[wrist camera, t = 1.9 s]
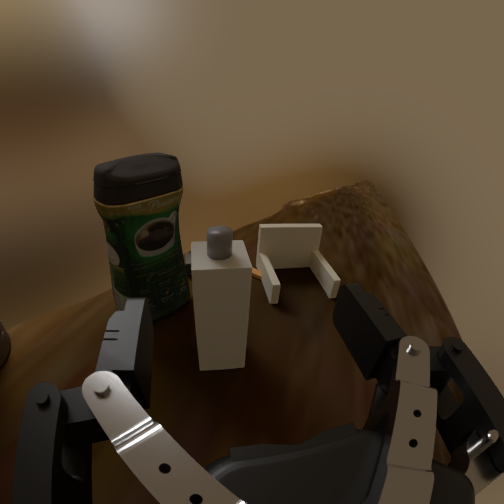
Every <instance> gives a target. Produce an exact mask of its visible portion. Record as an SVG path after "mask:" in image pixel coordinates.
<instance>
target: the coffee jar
mask: <svg viewBox="0 0 504 504" xmlns="http://www.w3.org/2000/svg"><path fill="white" fill-rule="evenodd" d="M93 180H94V203H95V206H96V209H97V211H98V213H99V214H100V216H101V218H102V220H103V223H104V228H105V234H106V240H107V247H108V256H109V265H110V273H111V282H112V289H113V295H114V299H115V303H116V306H117V308H118V310H119V311H124V310H125V306H126V302H127V299H128V298H144V297H146V298H147V300H148V305H149V310H150V314H151V319H152V322H153V321H155V320H158V319H160V318H162V317H165V316H166V315H168V314H170V313H172V312H174V311H176V310H177V309H179V308H180V307H182V306H183V305H184V304H186V302H187V301H188V299H189V297H190V291H189V283H188V278H187V273H186V268H185V263H184V258H183V253H182V247H181V240H180V233H179V219H178V213H179V204H180V200H181V197H182V193H183V186H182V185H183V184H182V177H181V169H180V165H179V162H178V159H177V158H176V157H175V156H173V155H168V154H163V153H150V154H141V155H135V156H130V157H125V158H121V159H117V160H113V161H109V162H106V163H102V164H99V165H97V166H96V167H95V169H94V179H93Z"/></svg>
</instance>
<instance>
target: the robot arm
mask: <svg viewBox="0 0 504 504" xmlns="http://www.w3.org/2000/svg"><path fill="white" fill-rule="evenodd" d="M389 314H390V313H389V312H388V311H387V310H386V309H385V307H384V306H383V305H382V304H381V302H380V301H379V300H378V299H377V298H375V297H374V296H372V295H371V294H369V293H368V294H367V292H366V291H365V290H364V289H363V287H362V286H361V285H360V284H358V283H357V284H348V285H342V286H341V287H340V290H339V294H338V297H337V301H336V304H335V308H334V311H333V322H334V325H335V327H336V329H337V330H338V332H339V334H340V336H341V337H342V339H343V341H344V343H345V344H346V346H347V348H348V350H349V351H350V353H351V355H352V357H353V358H354V360H355V362H356V364H357V365H358V367H359V369H360V371H361V372H362V374H363V376H364V378H365V380H370V379H373V378H376V379H377V380H378V382H377V383H376V385H375V389H374V394H373V398H372V403H371V407H370V411H369V415H368V419H367V421H366V424H365V426H364V427H363V429H362V430H358V429H356V428H355V426H354V424H353V423H350V424H347V425H343V426H340V427H336V428H333V429H329V430H326V431H324V432H322V433H320V434H318V435H316V436H314V437H312V438H310V439H308V440H306V441H304V442H302V443H300V444H297V445H278V444H257V445H250V446H242V447H233V448H229V455H228V456H225V457H222V458H220V459H218V460H216V461H214V462H212V463H211V464H209V465H208V466H206V467H205V468H202V467H201V466H200V465H199V464H198V463H197V462H196V461H195V460H194V459H193V458H192V457H191V456H190V455H189V454H188V453H187V452H186V451H185V450H184V449H183V448H182V447H181V446H180V445H179V444H178V443H177V442H176V441H175V440H174V439H173V438H172V437H171V436H170V435H169V434H168V433H167V432H166V431H165V430H164V428H163V427H162V426H161V425H160V424H159V423H158V422H156V421H153V420H152V419H151V418H150V417H149V416H148V414H147V413H146V412H145V411H144V410H143V409H150V393H151V375H152V361H153V348H154V329H153V324H152V319H151V314H150V310H149V305H148V300H147V298H146V297H144V298H128V299H127V302H126V306H125V310H124V311H116V312H115V313H114V314H113V315H112V317H111V318H110V319H109V320H108V324H107V327H106V332H105V335H104V340H103V342H102V346H101V350H100V354H99V358H98V362H97V366H96V371H95V373H93V374H91V375H90V376H89V377H87V378H86V380H85V381H84V383H83V385H82V386H80V387H77V388H72V389H67V390H63V391H59V390H58V388H57V387H56V386H55V385H53V384H51V383H47V382H44V383H39V384H37V385H35V386H34V387H33V388H32V389H31V390H30V391H29V393H28V396H27V399H26V403H25V408H24V412H23V417H22V421H21V426H20V432H19V438H18V444H17V450H16V458H15V467H14V478H13V496H12V504H93V503H92V443H96V442H101V441H105V440H111V441H112V443H113V445H114V447H115V449H116V450H117V452H118V453H119V455H120V456H121V457H122V459H123V460H124V461H125V463H126V464H127V465H128V467H129V468H130V469H131V470H132V472H133V473H134V474H135V475H136V476H137V478H138V479H139V480H140V481H141V482H142V484H143V485H144V486H145V487H146V488H147V489H148V490H149V492H150V493H151V494H152V495H153V496H154V497H155V498H156V499H157V500H158V501H159V502H160V503H161V504H475V495H476V494H478V493H479V492H480V491H481V490H482V489H484V488H485V487H486V486H487V485H489V484H490V483H491V482H492V481H493V480H495V479H497V478H498V477H500V476H501V475H503V474H504V398H503V396H502V394H501V393H500V392H499V390H498V388H497V387H496V386H495V384H494V383H493V381H492V380H491V378H490V377H489V375H488V374H487V373H486V371H485V370H484V368H483V367H482V366H481V364H480V363H479V361H478V360H477V359H476V357H475V356H474V355H473V354H472V352H471V351H470V349H469V348H468V347H467V345H466V344H465V343H464V342H463V341H461V340H460V339H458V338H455V337H448V338H446V339H445V340H444V342H443V344H442V345H441V347H428V346H427V344H426V343H425V342H424V341H423V340H421V339H420V338H417V337H414V336H407V335H406V334H405V333H404V331H403V330H402V329H401V327H400V326H399V325H398V324H397V322H396V321H395V320H394V319H393V317H392V316H391V315H389ZM9 350H10V338H9V335H8V333H7V331H6V330H5V328H4V326H3V324H2V322H1V320H0V367H1V366H2V364H3V363H4V362H5V360H6V358H7V356H8V353H9ZM452 378H453V380H454V381H455V383H456V384H457V386H458V387H459V389H460V391H461V392H462V394H463V402H462V404H461V405H459V403H458V402H457V400H456V399H455V397H454V395H453V394H452V392H451V390H450V389H449V387H448V386H447V385H448V384H449V382H450V381H451V380H452ZM436 427H437V429H438V431H439V433H440V435H441V437H442V439H443V441H444V443H445V445H446V447H447V449H448V451H449V453H450V455H451V462H449V463H448V465H447V466H446V465H444V464H442V463H439V462H437V461H435V460H433V459H432V457H433V449H434V440H435V430H436Z"/></svg>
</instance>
